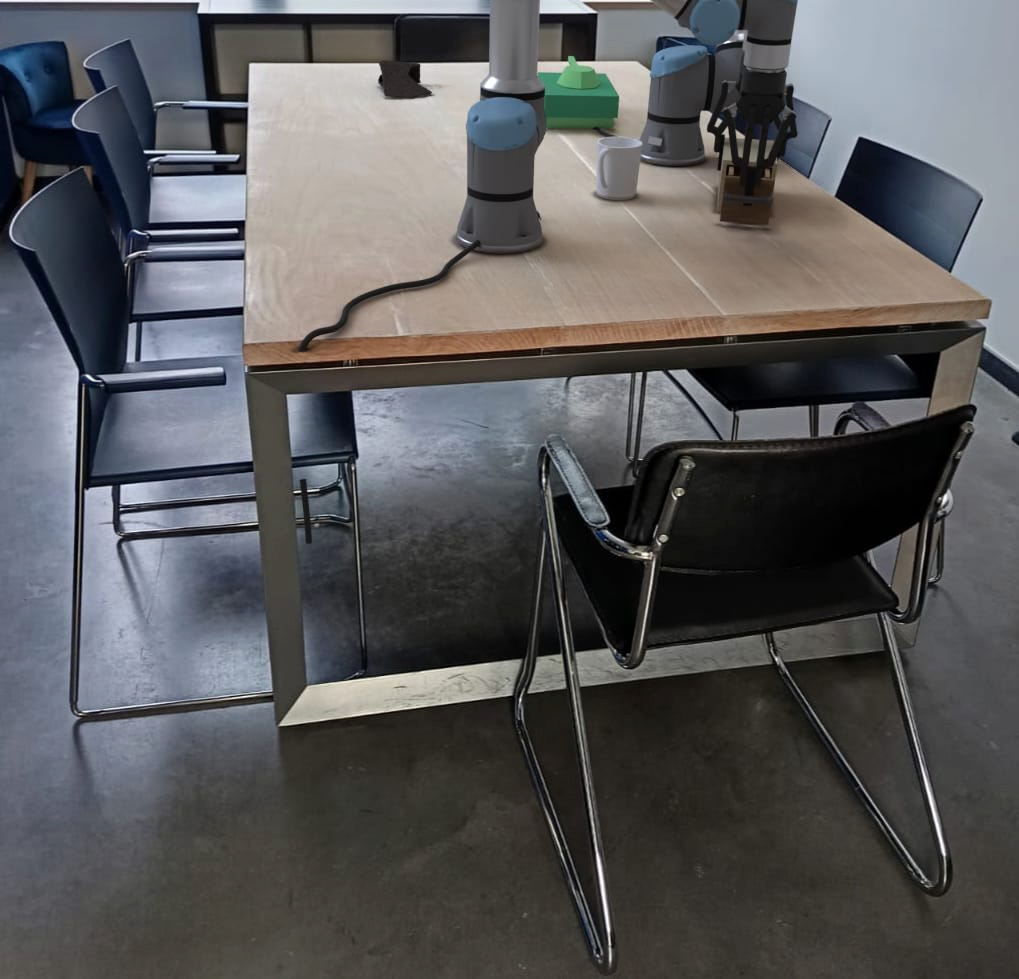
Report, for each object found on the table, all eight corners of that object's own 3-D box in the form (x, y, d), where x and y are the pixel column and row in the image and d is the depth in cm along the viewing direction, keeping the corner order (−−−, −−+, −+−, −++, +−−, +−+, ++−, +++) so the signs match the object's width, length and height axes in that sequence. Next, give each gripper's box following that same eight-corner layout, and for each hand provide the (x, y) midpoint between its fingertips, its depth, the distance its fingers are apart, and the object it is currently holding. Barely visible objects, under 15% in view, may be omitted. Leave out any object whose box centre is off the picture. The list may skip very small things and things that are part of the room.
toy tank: (603, 52, 288) (620, 79, 258) (599, 101, 294) (616, 133, 265) (536, 51, 287) (546, 78, 257) (534, 99, 294) (543, 131, 264)
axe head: (443, 87, 294) (392, 77, 287) (436, 115, 299) (385, 106, 292) (421, 62, 307) (371, 52, 300) (414, 89, 311) (365, 80, 304)
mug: (610, 185, 226) (613, 134, 221) (646, 193, 222) (651, 142, 216) (579, 196, 219) (581, 144, 214) (615, 205, 214) (619, 152, 209)
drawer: (768, 234, 200) (775, 188, 195) (719, 230, 201) (724, 185, 196) (766, 199, 217) (772, 157, 213) (721, 196, 218) (726, 154, 214)
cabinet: (769, 216, 211) (777, 163, 206) (716, 212, 213) (723, 159, 207) (768, 190, 225) (775, 140, 220) (718, 187, 227) (724, 137, 222)
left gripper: (802, 65, 190) (782, 200, 202) (726, 62, 192) (711, 195, 204) (805, 74, 184) (784, 212, 196) (726, 70, 185) (710, 207, 198)
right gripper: (821, 53, 210) (803, 169, 221) (702, 47, 213) (690, 162, 224) (824, 60, 203) (805, 179, 215) (701, 53, 206) (688, 171, 218)
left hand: (747, 203), depth 200 cm, fingers closed
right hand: (746, 170), depth 220 cm, fingers closed on cabinet, 10 cm apart
